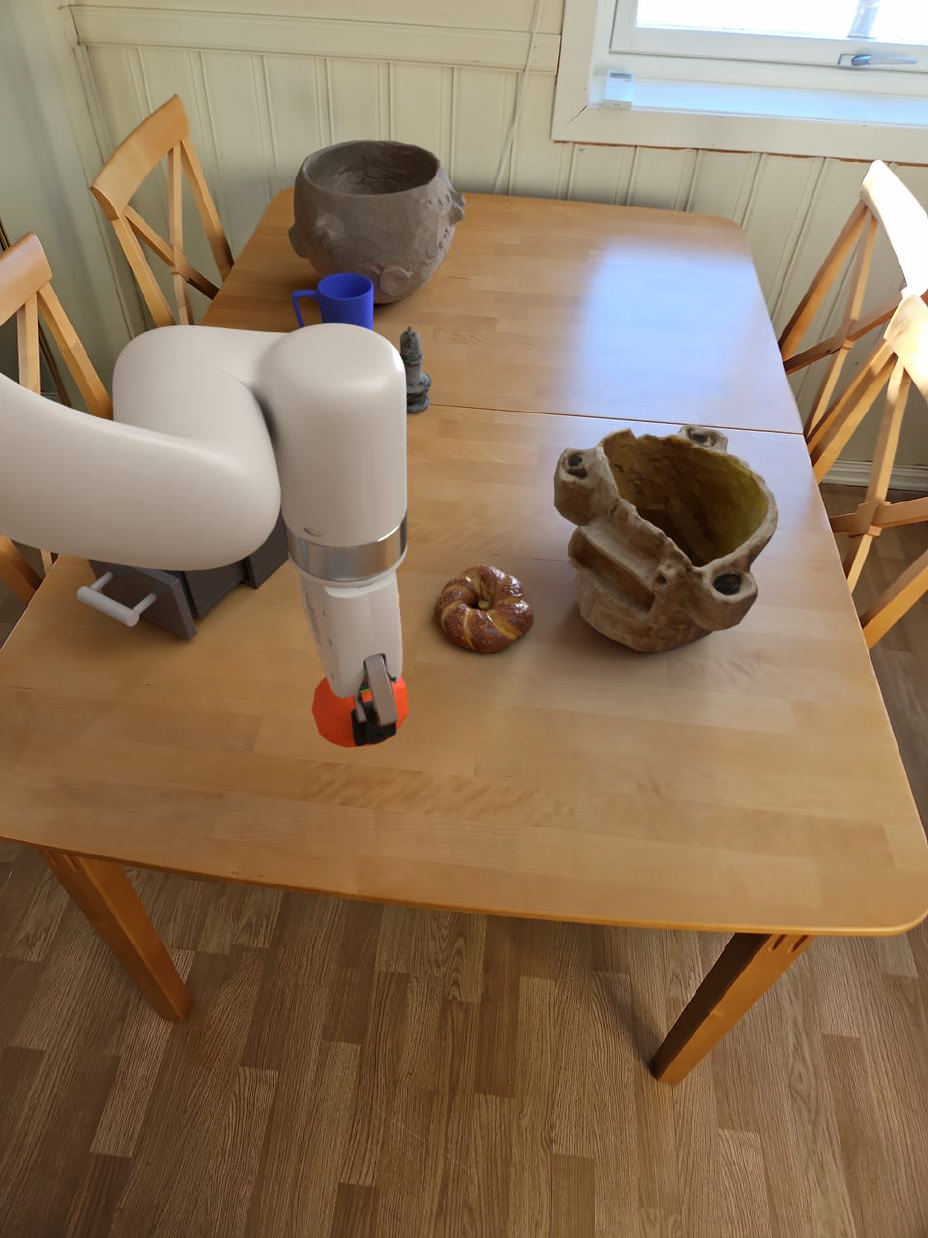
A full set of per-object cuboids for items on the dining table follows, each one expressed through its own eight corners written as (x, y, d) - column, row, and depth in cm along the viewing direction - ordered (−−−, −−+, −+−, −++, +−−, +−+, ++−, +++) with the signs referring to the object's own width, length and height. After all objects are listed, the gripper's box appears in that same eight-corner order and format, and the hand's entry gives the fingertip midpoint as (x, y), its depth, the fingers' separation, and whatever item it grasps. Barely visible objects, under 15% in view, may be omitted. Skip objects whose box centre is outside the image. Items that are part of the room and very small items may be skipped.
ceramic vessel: (865, 568, 87) (836, 472, 66) (698, 726, 91) (622, 683, 71) (714, 452, 99) (649, 340, 78) (573, 596, 103) (477, 527, 83)
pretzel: (431, 579, 96) (431, 556, 93) (524, 576, 97) (527, 553, 94) (437, 659, 88) (437, 637, 85) (537, 655, 89) (541, 633, 86)
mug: (299, 334, 131) (291, 273, 123) (375, 332, 132) (372, 271, 124) (298, 362, 125) (290, 300, 118) (377, 359, 127) (374, 298, 119)
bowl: (462, 332, 133) (466, 203, 118) (285, 326, 132) (266, 196, 117) (464, 255, 151) (467, 134, 136) (308, 250, 150) (294, 128, 135)
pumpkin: (294, 730, 65) (285, 682, 60) (362, 669, 70) (359, 619, 65) (360, 781, 63) (356, 735, 58) (427, 714, 67) (429, 667, 62)
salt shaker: (437, 395, 121) (437, 319, 112) (423, 417, 117) (422, 340, 108) (400, 387, 122) (397, 311, 113) (385, 409, 118) (381, 332, 109)
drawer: (161, 668, 85) (139, 614, 79) (73, 620, 89) (46, 566, 83) (275, 558, 96) (264, 503, 90) (193, 520, 100) (177, 465, 94)
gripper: (256, 457, 55) (286, 630, 68) (323, 645, 45) (343, 806, 58) (364, 437, 57) (373, 608, 70) (452, 612, 47) (443, 775, 60)
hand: (359, 697), depth 64 cm, fingers closed on pumpkin, 7 cm apart
